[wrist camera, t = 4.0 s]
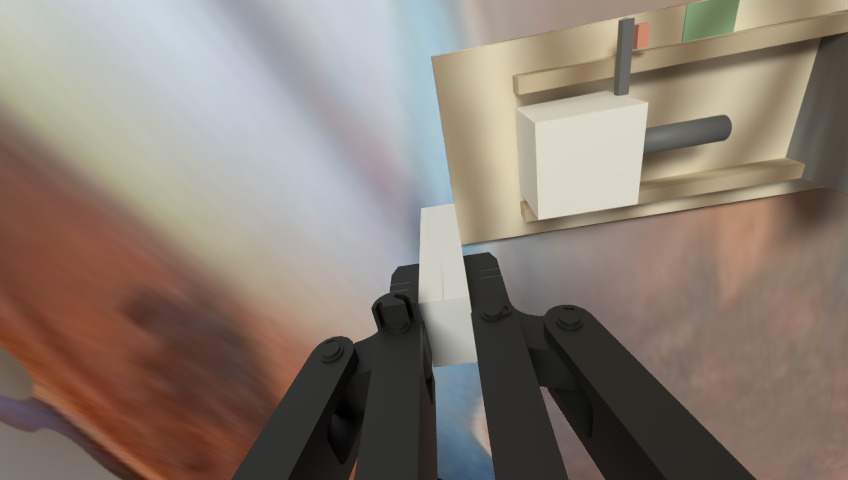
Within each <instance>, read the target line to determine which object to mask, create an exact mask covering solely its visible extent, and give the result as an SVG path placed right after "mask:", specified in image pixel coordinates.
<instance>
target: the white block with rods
mask: <svg viewBox="0 0 848 480" xmlns="http://www.w3.org/2000/svg"><path fill="white" fill-rule="evenodd" d="M634 23H635V18H628V19H623V20H619V22H618V37H617V53H616V69H615V84H614V92H611V91H603V92H597V93H592V94H587V95H581V96H576V97H571V98H566V99H560V100H555V101H550V102H544V103H539V104H534V105H529V106H523V107H518V108H515V112H516V128H517V145H518V162H519V178H520V191H521V193H522V194H523V196H524V198H525V199H526V201H527V202H528V204H529V206H530V207H531V209H532V211H533V212H534V214H535V215H536V217H537V219H538V220H542V219H549V218H555V217H561V216H567V215H574V214H580V213H586V212H592V211H598V210H605V209H611V208H617V207H623V206H630V205H636V204H638V195H639V186H640V176H641V167H642V158H643V155H645V154H651V153H657V152H662V151H668V150H674V149H680V148H686V147H691V146H697V145H703V144H709V143H715V142H720V141H725V140H726V139H728V137H729V136H730V134H731V131H732V123H731V120H730V118H729V117H728V116H726V115H717V116H712V117H706V118H700V119H695V120H689V121H684V122H678V123H672V124H667V125H661V126H656V127H650V128H646V121H647V111H648V102H645V101H642V100H638V99H635V98H631V97H628V96H624V95H627V94H629V84H630V72H631V60H632V47H633V35H634Z"/></svg>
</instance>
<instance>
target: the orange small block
mask: <svg viewBox="0 0 848 480" xmlns="http://www.w3.org/2000/svg"><path fill="white" fill-rule="evenodd" d="M649 29H650V23H637V24H634V35H633V47H632V49H639V48H644V47H648V39H649Z"/></svg>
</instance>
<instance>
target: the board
mask: <svg viewBox="0 0 848 480" xmlns="http://www.w3.org/2000/svg"><path fill="white" fill-rule="evenodd" d="M628 18H635V23H634V24H637V23H650V29H649V39H648V47H644V48H639V49H632V60H631V72H630V84H629V94H627V95H624V96H628V97H631V98H635V99H638V100H642V101H645V102H648V111H647V121H646V128H650V127H656V126H661V125H667V124H672V123H678V122H684V121H689V120H695V119H700V118H706V117H712V116H717V115H726V116H728V117H729V118H730V120H731V123H732V131H731V134H730V136H729V137H728V139H726V140H725V141H720V142H715V143H709V144H703V145H697V146H691V147H686V148H680V149H674V150H668V151H662V152H657V153H651V154H645V155H643V158H642V167H641V176H640V186H639V195H638V204H636V205H630V206H623V207H617V208H611V209H605V210H598V211H592V212H586V213H580V214H574V215H567V216H561V217H555V218H549V219H542V220H538V219H537V217H536V215H535V214H534V212H533V211H532V209H531V207H530V206H529V204H528V202H527V201H526V199H525V198H524V196H523V194H522V193H521V191H520V178H519V162H518V145H517V128H516V112H515V108H518V107H523V106H529V105H534V104H539V103H544V102H550V101H555V100H560V99H566V98H571V97H576V96H581V95H587V94H592V93H597V92H603V91H611V92H614V84H615V69H616V53H617V37H618V22H619V20H623V19H628ZM431 59H432V66H433V72H434V78H435V85H436V91H437V98H438V104H439V110H440V117H441V123H442V130H443V136H444V142H445V149H446V155H447V162H448V168H449V174H450V181H451V187H452V194H453V200H454V204H455V211H456V217H457V223H458V229H459V235H460V242H461V245H464V244H470V243H477V242H483V241H489V240H496V239H502V238H508V237H515V236H521V235H527V234H534V233H540V232H546V231H553V230H559V229H565V228H572V227H578V226H584V225H591V224H597V223H603V222H610V221H616V220H622V219H629V218H635V217H641V216H648V215H654V214H660V213H667V212H673V211H679V210H686V209H692V208H698V207H705V206H711V205H717V204H724V203H730V202H736V201H743V200H749V199H755V198H762V197H768V196H774V195H781V194H787V193H794V192H800V191H806V190H813V189H819V188H825V187H827V188H829V189H832V190H835V191H837V192H840V193H843V194H845V195H848V0H703V1H698V2H693V3H688V4H683V5H678V6H673V7H669V8H664V9H659V10H654V11H649V12H644V13H639V14H635V15H630V16H625V17H620V18H615V19H610V20H605V21H601V22H596V23H591V24H586V25H581V26H576V27H571V28H567V29H562V30H557V31H552V32H547V33H542V34H537V35H533V36H528V37H523V38H518V39H513V40H508V41H503V42H499V43H494V44H489V45H484V46H479V47H474V48H469V49H465V50H460V51H455V52H450V53H445V54H440V55H435V56H431Z"/></svg>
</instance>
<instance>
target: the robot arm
mask: <svg viewBox="0 0 848 480" xmlns="http://www.w3.org/2000/svg"><path fill="white" fill-rule="evenodd" d="M371 309H372V312H373V315H374V319H375V322H376V325H377V328H378V332H377V333H375V334H374V335H373V336H371V337H369V338H367V339H364V340H362V341H359V342H357V343H354V344H353V342H352V341H351V340H350V339H349V338H347V337H343V336H339V337H332V338H330V339H327V340H325V341H323V342H322V343H320V344H319V345H318V346H317V347H316V348H315V349H314V350H313V351H312V353H311V355H310V356H309V358H308V359H307V361H306V362H305V364H304V366H303V367H302V369H301V370H300V372H299V373H298V375H297V377H296V378H295V380H294V381H293V383H292V385H291V386H290V388H289V389H288V391H287V392H286V394H285V396H284V397H283V399H282V400H281V402H280V403H279V405H278V407H277V408H276V410H275V411H274V413H273V414H272V416H271V418H270V419H269V421H268V422H267V424H266V426H265V427H264V429H263V430H262V432H261V433H260V435H259V437H258V438H257V440H256V441H255V443H254V444H253V446H252V448H251V449H250V451H249V452H248V454H247V455H246V457H245V459H244V460H243V462H242V463H241V465H240V467H239V468H238V470H237V471H236V473H235V474H234V476H233V478H232V479H231V480H349V477H350V475H351V472H352V470H353V467H354V464H355V462H356V459H357V465H356V471H355V477H354V480H439V479H438V474H437V438H436V401H435V380H434V376H433V372H432V361H433V365H434V367H441V366H449V365H457V364H465V363H473V362H478V367H479V373H480V380H481V386H482V393H483V400H484V406H485V413H486V419H487V426H488V433H489V439H490V446H491V452H492V459H493V466H494V472H495V479H496V480H569V479H568V476H567V473H566V470H565V466H564V463H563V460H562V457H561V454H560V451H559V447H558V444H557V441H556V438H555V435H554V431H553V428H552V425H551V422H550V419H549V416H548V412H547V409H546V406H545V403H544V400H543V396H542V393H541V390H540V387H539V386H543V387H547V389H548V391H549V393H550V394H551V396H552V397H553V399H554V401H555V402H556V404H557V405H558V407H559V408H560V410H561V411H562V413H563V414H564V416H565V418H566V419H567V421H568V422H569V424H570V425H571V427H572V428H573V430H574V431H575V433H576V435H577V436H578V438H579V439H580V441H581V442H582V444H583V445H584V447H585V448H586V450H587V452H588V453H589V455H590V456H591V458H592V459H593V461H594V462H595V464H596V465H597V467H598V469H599V470H600V472H601V473H602V475H603V476H604V478H605V479H606V480H756V479H755V478H754V477H753V476H752V475H751V474H750V473H749V472H748V471H747V470H746V469H745V468H744V467H743V466H742V465H741V464H740V463H739V462H738V461H737V460H736V459H735V458H734V457H733V456H732V455H731V454H730V453H729V452H728V451H727V450H726V449H725V448H724V447H723V446H722V445H721V444H720V443H719V442H718V441H717V440H716V439H715V438H714V437H713V435H712V434H711V433H710V432H709V431H708V430H707V429H706V428H705V427H704V426H703V425H702V424H701V423H700V422H699V421H698V420H697V419H696V418H695V417H694V416H693V415H692V414H691V413H690V412H689V411H688V410H687V409H686V408H685V407H684V406H683V405H682V404H681V403H680V402H679V401H678V400H677V399H676V398H675V397H674V396H673V395H672V394H671V393H670V392H669V391H668V390H667V389H666V388H665V387H664V386H663V385H662V384H661V383H660V382H659V381H658V380H657V379H656V378H655V377H654V376H653V375H652V374H651V373H650V372H649V371H648V370H647V369H646V368H645V367H644V366H643V365H642V364H641V363H640V362H639V361H638V360H637V359H636V358H635V357H634V356H633V355H632V354H631V353H630V352H629V351H628V350H627V349H626V348H625V347H624V346H623V345H622V344H621V343H620V342H619V341H618V340H617V339H616V338H615V337H614V336H613V335H612V334H611V333H610V332H609V331H608V330H607V329H606V328H605V327H604V326H603V325H602V324H601V323H600V322H599V321H598V320H597V319H596V318H595V317H594V316H593V315H592V314H590V313H589V312H588V311H586V310H585V309H583V308H580V307H577V306H574V305H560V306H555V307H553V308H551V309H549V310H548V312H547V313H546V314H545V316H544V317H543V316H534V315H528V314H525V313H522V312H520V311H518V310H517V309H515V308H514V307H513V306H512V305H511V303H510V301H509V298H508V294H507V291H506V288H505V285H504V281H503V278H502V276H501V272H500V269H499V265H498V262H497V259H496V258H495V257H494V256H493V255H492V254H490V253H489V252H486V253H480V254H473V255H467V256H463V254H462V248H461V242H460V235H459V229H458V223H457V217H456V211H455V204H454V203H452V204H446V205H440V206H434V207H428V208H422V209H421V231H420V264H413V265H406V266H400V267H398V268H397V269H396V270H395V272H394V273H393V275H392V278H391V286H390V293H388V294H385V295H383V296H382V297H380V298H379V299H377V300H376V301H375V302H374V304H373V306H372V308H371ZM357 457H358V458H357Z"/></svg>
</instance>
